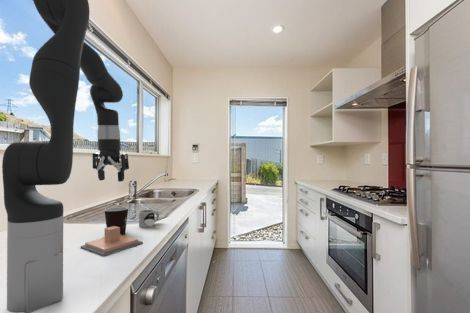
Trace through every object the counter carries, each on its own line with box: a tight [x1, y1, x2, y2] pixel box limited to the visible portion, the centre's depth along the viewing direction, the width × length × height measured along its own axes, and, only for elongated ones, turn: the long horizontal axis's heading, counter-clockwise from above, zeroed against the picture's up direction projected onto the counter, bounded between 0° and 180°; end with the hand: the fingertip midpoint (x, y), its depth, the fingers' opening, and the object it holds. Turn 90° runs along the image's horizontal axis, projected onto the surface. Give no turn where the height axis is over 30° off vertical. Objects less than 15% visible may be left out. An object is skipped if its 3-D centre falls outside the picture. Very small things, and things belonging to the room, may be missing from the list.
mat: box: [80, 240, 144, 257], centre depth 86 cm, size 14×14×1 cm
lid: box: [84, 226, 139, 252], centre depth 86 cm, size 12×12×6 cm
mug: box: [138, 209, 160, 229], centre depth 114 cm, size 10×7×7 cm
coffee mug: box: [104, 206, 129, 235], centre depth 101 cm, size 12×9×10 cm
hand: (111, 180), depth 95 cm, fingers open, 8 cm apart
